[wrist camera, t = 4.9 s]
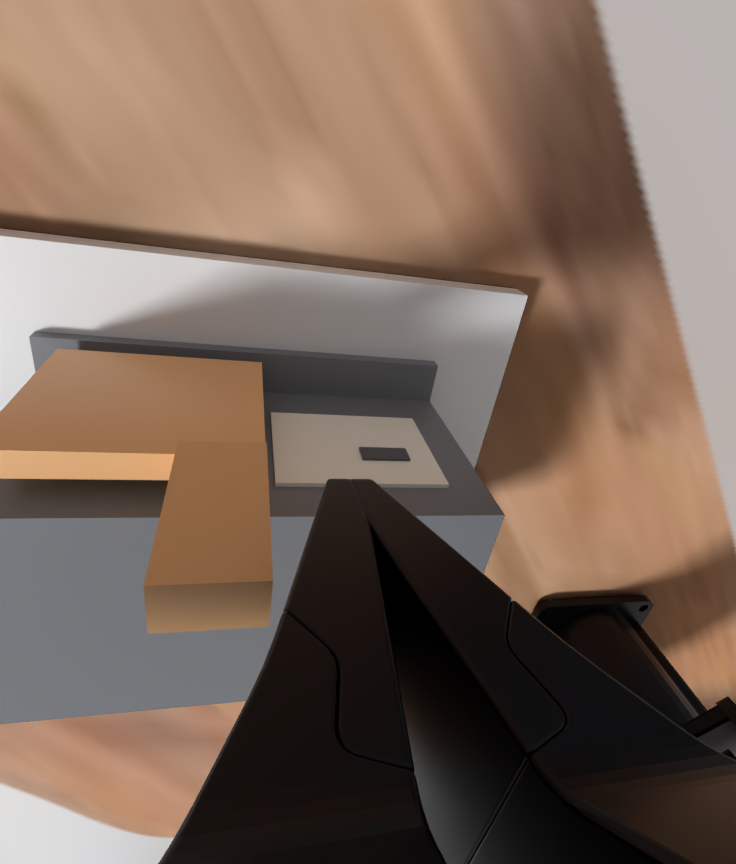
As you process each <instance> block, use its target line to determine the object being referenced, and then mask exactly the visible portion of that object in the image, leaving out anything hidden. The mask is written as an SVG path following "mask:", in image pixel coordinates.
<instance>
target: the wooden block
mask: <svg viewBox="0 0 736 864" xmlns="http://www.w3.org/2000/svg"><path fill="white" fill-rule="evenodd" d="M0 479H94V480H169V481H168V485H167V489H166V493H165V497H164V502H163V506H162V510H161V514H160V518H159V523H158V527H157V531H156V535H155V539H154V543H153V548H152V552H151V556H150V560H149V564H148V569H147V573H146V577H145V581H144V585H143V588H144V599H145V610H146V621H147V632H148V634H155V633H171V632H188V631H205V630H222V629H238V628H255V627H269V624H270V612H271V600H272V589H273V567H272V546H271V524H270V503H269V481H268V460H267V443H265V424H264V400H263V376H262V362H250V361H235V360H221V359H206V358H191V357H176V356H161V355H146V354H131V353H117V352H102V351H87V350H72V349H56V350H55V351H54V352H53V354H52V355H51V356H50V357H49V358H48V359H47V360H46V361H45V362H44V364H43V365H42V366H41V367H40V368H39V369H38V370H37V371H36V372H35V374H34V375H33V376H32V377H31V378H30V379H29V380H28V381H27V383H26V384H25V385H24V386H23V387H22V388H21V389H20V390H19V391H18V393H17V394H16V395H15V396H14V397H13V398H12V399H11V400H10V401H9V403H8V404H7V405H6V406H5V407H4V408H3V409H2V410H1V412H0Z"/></svg>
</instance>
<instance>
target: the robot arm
mask: <svg viewBox="0 0 736 864" xmlns="http://www.w3.org/2000/svg"><path fill="white" fill-rule="evenodd" d="M652 606H653V604H652V602H651V601H650V600H649V599H648V597H647V596H645V595H636V596H618V597H599V598H581V599H562V600H546V601H542V602H540V603H539V604H537V605H536V607H535V608H534V610H533V612H532V615H531V614H530V613H529V612H528V611H527V610H525V609H524V608H523V607H522V606H521V605H520V604H518V603H517V602H516V601H512V602H511V597H510V596H509V595H508V594H506V593H505V592H504V591H503V590H502V589H501V588H499V587H498V586H497V585H496V584H495V583H493V582H492V581H491V580H490V579H489V578H488V577H486V576H485V575H484V574H483V573H482V572H481V571H479V570H478V569H477V568H476V567H475V566H473V565H472V564H471V563H470V562H469V561H468V560H466V559H465V558H464V557H463V556H462V555H461V554H459V553H458V552H457V551H456V550H455V549H453V548H452V547H451V546H450V545H449V544H448V543H446V542H445V541H444V540H443V539H442V538H441V537H439V536H438V535H437V534H436V533H435V532H433V531H432V530H431V529H430V528H429V527H428V526H426V525H425V524H424V523H423V522H422V521H421V520H419V519H418V518H417V517H416V516H415V515H414V514H412V513H411V512H410V511H409V510H408V509H406V508H405V507H404V506H403V505H402V504H401V503H399V502H398V501H397V500H396V499H395V498H394V497H392V496H391V495H390V494H389V493H388V492H386V491H385V490H384V489H383V488H382V487H381V486H379V485H378V484H377V483H376V482H375V481H373V480H371V479H351V480H350V479H328V480H327V482H326V485H325V488H324V491H323V494H322V497H321V500H320V503H319V506H318V509H317V512H316V515H315V518H314V521H313V524H312V527H311V530H310V532H309V535H308V538H307V541H306V544H305V547H304V550H303V553H302V556H301V559H300V562H299V565H298V568H297V571H296V574H295V577H294V580H293V583H292V586H291V589H290V592H289V595H288V598H287V601H286V604H285V607H284V610H283V614H282V615H281V618H280V621H279V624H278V627H277V630H276V633H275V636H274V638H273V641H272V644H271V646H270V649H269V651H268V654H267V657H266V659H265V662H264V664H263V667H262V669H261V671H260V673H259V675H258V678H257V680H256V682H255V684H254V686H253V688H252V690H251V692H250V695H249V697H248V699H247V701H246V703H245V705H244V707H243V709H242V711H241V713H240V715H239V717H238V719H237V721H236V723H235V724H234V726H233V728H232V730H231V732H230V734H229V736H228V738H227V740H226V742H225V744H224V746H223V748H222V750H221V752H220V754H219V755H218V757H217V759H216V761H215V763H214V765H213V767H212V769H211V771H210V773H209V775H208V777H207V779H206V781H205V783H204V785H203V786H202V788H201V790H200V792H199V794H198V796H197V798H196V800H195V802H194V804H193V806H192V807H191V809H190V811H189V813H188V815H187V816H186V818H185V820H184V822H183V824H182V825H181V827H180V829H179V831H178V832H177V834H176V836H175V838H174V839H173V841H172V843H171V845H170V846H169V848H168V849H167V851H166V852H165V854H164V856H163V857H162V859H161V860H160V862H159V863H158V864H736V705H735V704H734V702H733V701H732V700H731V699H730V698H729V697H726V698H724V699H722V700H720V701H718V702H717V703H716V704H717V706H715V707H713V708H711V709H710V710H708V711H707V710H706V708H705V707H704V706H703V704H702V703H701V702H700V701H699V699H698V698H697V697H696V696H695V694H694V693H693V692H692V690H691V689H690V688H689V687H688V685H687V684H686V683H685V682H684V680H683V679H682V678H681V676H680V675H679V674H678V673H677V671H676V670H675V669H674V667H673V666H672V665H671V664H670V662H669V661H668V660H667V659H666V657H665V656H664V655H663V653H662V652H661V651H660V650H659V648H658V647H657V646H656V645H655V643H654V642H653V641H652V639H651V638H650V637H649V636H648V634H647V633H646V632H645V631H644V629H643V628H642V627H641V624H642V623H643V621H644V620H645V618H646V616H647V615H648V613H649V611H650V610H651V608H652Z"/></svg>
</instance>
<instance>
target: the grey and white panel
mask: <svg viewBox="0 0 736 864" xmlns="http://www.w3.org/2000/svg"><path fill="white" fill-rule="evenodd" d="M527 298H528V295H526V294H524V293H523V292H521V291H519V290H518V289H514V288H506V287H497V286H488V285H480V284H471V283H463V282H454V281H446V280H437V279H429V278H420V277H411V276H403V275H394V274H386V273H377V272H369V271H360V270H352V269H343V268H334V267H326V266H317V265H309V264H300V263H292V262H283V261H275V260H266V259H257V258H249V257H240V256H232V255H223V254H215V253H206V252H198V251H189V250H180V249H172V248H163V247H155V246H146V245H138V244H129V243H121V242H112V241H103V240H95V239H86V238H78V237H69V236H61V235H52V234H44V233H35V232H26V231H18V230H9V229H1V228H0V412H1V410H2V409H3V408H4V407H5V406H6V405H7V404H8V403H9V401H10V400H11V399H12V398H13V397H14V396H15V395H16V394H17V393H18V391H19V390H20V389H21V388H22V387H23V386H24V385H25V384H26V383H27V381H28V380H29V379H30V378H31V377H32V376H33V375H34V374H35V372H36V371H37V370H38V369H39V368H40V367H41V366H42V365H43V364H44V362H45V361H46V360H47V359H48V358H49V357H50V356H51V355H52V354H53V352H54V351H55V350H56V349H72V350H87V351H102V352H117V353H131V354H146V355H161V356H176V357H191V358H206V359H221V360H235V361H250V362H262V376H263V400H264V424H265V443H267V460H268V481H269V503H270V524H271V546H272V567H273V589H272V600H271V612H270V624H269V627H255V628H238V629H222V630H205V631H188V632H171V633H155V634H148V632H147V621H146V610H145V599H144V588H143V585H144V581H145V577H146V573H147V569H148V564H149V560H150V556H151V552H152V548H153V543H154V539H155V535H156V531H157V527H158V523H159V518H160V514H161V510H162V506H163V502H164V497H165V493H166V489H167V485H168V481H169V480H94V479H0V724H8V723H18V722H29V721H40V720H50V719H61V718H71V717H82V716H92V715H103V714H114V713H124V712H135V711H145V710H156V709H167V708H177V707H188V706H198V705H209V704H220V703H230V702H241V701H247V699H248V697H249V695H250V692H251V690H252V688H253V686H254V684H255V682H256V680H257V678H258V675H259V673H260V671H261V669H262V667H263V664H264V662H265V659H266V657H267V654H268V651H269V649H270V646H271V644H272V641H273V638H274V636H275V633H276V630H277V627H278V624H279V621H280V618H281V615H282V614H283V610H284V607H285V604H286V601H287V598H288V595H289V592H290V589H291V586H292V583H293V580H294V577H295V574H296V571H297V568H298V565H299V562H300V559H301V556H302V553H303V550H304V547H305V544H306V541H307V538H308V535H309V532H310V530H311V527H312V524H313V521H314V518H315V515H316V512H317V509H318V506H319V503H320V500H321V497H322V494H323V491H324V488H325V485H326V482H327V480H328V479H350V480H351V479H371V480H373V481H375V482H376V483H377V484H378V485H379V486H381V487H382V488H383V489H384V490H385V491H386V492H388V493H389V494H390V495H391V496H392V497H394V498H395V499H396V500H397V501H398V502H399V503H401V504H402V505H403V506H404V507H405V508H406V509H408V510H409V511H410V512H411V513H412V514H414V515H415V516H416V517H417V518H418V519H419V520H421V521H422V522H423V523H424V524H425V525H426V526H428V527H429V528H430V529H431V530H432V531H433V532H435V533H436V534H437V535H438V536H439V537H441V538H442V539H443V540H444V541H445V542H446V543H448V544H449V545H450V546H451V547H452V548H453V549H455V550H456V551H457V552H458V553H459V554H461V555H462V556H463V557H464V558H465V559H466V560H468V561H469V562H470V563H471V564H472V565H473V566H475V567H476V568H477V569H478V570H479V571H481V572H482V573H484V571H485V568H486V565H487V562H488V560H489V557H490V554H491V551H492V549H493V546H494V543H495V541H496V538H497V535H498V532H499V530H500V527H501V524H502V521H503V519H504V516H505V515H504V513H503V512H502V510H501V509H500V507H499V506H498V504H497V503H496V501H495V500H494V498H493V497H492V495H491V494H490V492H489V491H488V489H487V487H486V486H485V484H484V483H483V481H482V480H481V478H480V477H479V475H478V474H477V472H476V471H475V466H476V463H477V459H478V456H479V453H480V450H481V446H482V443H483V440H484V437H485V434H486V430H487V427H488V424H489V421H490V417H491V414H492V411H493V408H494V404H495V401H496V398H497V395H498V392H499V388H500V385H501V382H502V379H503V375H504V372H505V369H506V366H507V363H508V359H509V356H510V353H511V350H512V346H513V343H514V340H515V337H516V333H517V330H518V327H519V324H520V321H521V317H522V314H523V311H524V308H525V304H526V301H527Z"/></svg>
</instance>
